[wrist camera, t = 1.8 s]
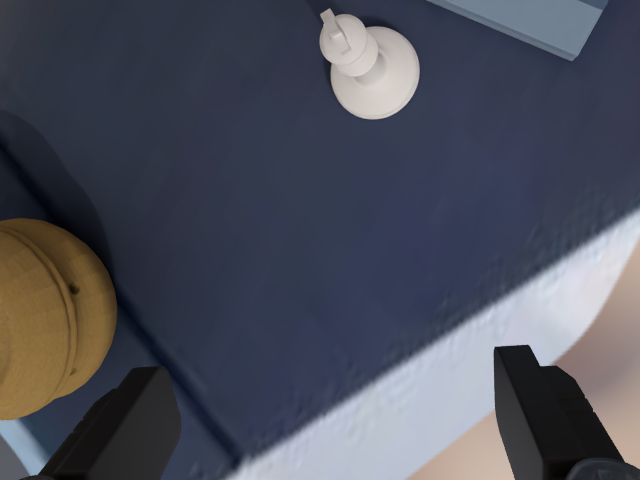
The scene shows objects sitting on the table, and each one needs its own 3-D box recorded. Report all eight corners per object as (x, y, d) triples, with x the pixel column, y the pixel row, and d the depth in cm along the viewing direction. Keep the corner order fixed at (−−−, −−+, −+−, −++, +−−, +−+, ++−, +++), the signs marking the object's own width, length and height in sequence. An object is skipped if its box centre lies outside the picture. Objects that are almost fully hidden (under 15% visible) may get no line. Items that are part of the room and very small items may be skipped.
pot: (91, 410, 37) (-38, 492, 28) (-21, 305, 39) (-180, 348, 29) (174, 287, 34) (61, 333, 25) (49, 178, 36) (-103, 181, 26)
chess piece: (394, 10, 28) (358, -72, 19) (435, 90, 28) (420, 50, 19) (317, 58, 30) (247, 4, 20) (355, 135, 30) (304, 118, 20)
